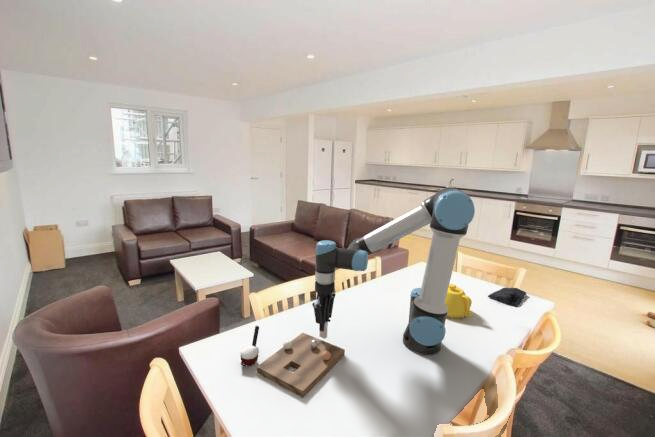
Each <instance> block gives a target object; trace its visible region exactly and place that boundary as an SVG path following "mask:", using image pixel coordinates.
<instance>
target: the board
mask: <svg viewBox="0 0 655 437" xmlns="http://www.w3.org/2000/svg"><path fill="white" fill-rule="evenodd" d="M312 340H316V341H317V342H318V347H317V348H316V349H312V348H311V347H310V342H311V341H312ZM290 341H291V343H292V346H291V348H290V349H285V348H284V346H282V348H280V349H279V350H277V351H276V352H275V353H273V354H271V355H270V356H269V357H268V358H266V359H265V360H264V361H262V362H261V363H259V364H258V365H257V366H256V374H257V375H259V376H261V377H263V378H265V379H267V380H268V381H271V382H272V383H274V384H276V385H278V386H280V387H282V388H284V389H286V391H289V392H291V393H293V394H294V395H296V396H298V397H300V398H302V399H304V398H305V397H306V396H307V395H308V393H310V391H312V389H314V387H315V386H316V385H317V384H318V383H319V382H320V381H322V379H324V377H326V375H327V374H328V373H329V372H330V371H331V370H332V369H333V368H334V367H335V366H336V365H337V364H338V363H339V362H340V361H341V360H342V359H343V357H344V356H345V353H346V352H345V350H346V349H345V348H342V347H339V346H337V345H334V344H332V343H330V342H327V341H324V340H323V339H319V338H317V337H315V336H312V335H310V334H307V333H305V332H301V333H300V334H299V335H297V336H296V337H295V338H293V339H292V340H290ZM324 351H329V352H330V354H331V357H330V359H329V360H324V359H323V358H322V353H323V352H324ZM291 368H292V369H294V370H295V371H291V370H290V369H291Z"/></svg>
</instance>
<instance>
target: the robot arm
mask: <svg viewBox="0 0 655 437" xmlns="http://www.w3.org/2000/svg"><path fill="white" fill-rule="evenodd" d="M475 210H476V209H475V204H474V202H473V200H472V198H471V196H469V195H468V194H467V193H466V192H464V191H462V190H461V189H459V188H456V187H445V188H442V189H441V190H438V191H437V192H435V193H434V194H433V195H431V196H429V197H428V198H426V199H424V200H423V201H421V203H420V205H419V206H417V207H415V208H413V209H411V210H410V211H408V212H406V213H405V214H402V215H400V216H399V217H397V218H395V219H393V220H391V221H389V222H388V223H387V222H386V223H385V224H384V225H382V226H380V227H378V228H376V229H374V230H372V231H370V232H369V233H367V234H365V235H364V236H362V237H359V238H356V239H354V240H352V241H351V242H350V243H349V245H348V247H347V248H342V247H337V244H336V242H335V241H332V240H330V239H329V240H320V241H318V242H317V243H316V245H315V275H314V276H315V278H314V280H315V281H314V291H315V292H316V293H317V294H316V301H315V302H312V304H311V306H312V307H313V312H314V319H315V324H318V325H319V338H322V339H327V338H328V323H330V322H331V318H332V316H333V315H332V314H333V308H334V303H335V297H336V293H335V292H334V291H335V286H336V285H335V281H336V269H340V270H346V271H347V270H348V271H353V272H365V271H366V270H367V269H368V266H369V263H368V262H369V255H371V254H373V253H375V252H377V251H379V250H381V249H383V248H384V247H387V246H389V245H390V244H392V243H395V242H396V241H399V240H401V239H403V238H404V237H406V236H408V235H410V234H412V233H414V232H416V231H418V230H420V229H422V228H424V227H426V226H427V225H429V228H430V230H431V231H432V237H431V241H430V246H429V250H428V254H427V260H426V266H425V269H424V274H423V277H422V278H423V279H422V284H421V287H415V288H413V289H412V290H411V291H410V295H409V296H410V300H409V301H410V303H409V312H408V314H409V315H408V323H407V326H406V328H405V330H404V332H403V334H402V342H403V345H404V346H405V348H407V349H409V350H410V351H412V352H414V353H416V354H417V353H418V354H421V355H435V354H437V353H439V352H440V351H441V350H442V344H443V342H442V341H443V340H444V339H445V336H446V332H447V331H446V327H445V325H446V321H447V318H448V317H447V312H448V307H447V306H446V304H445V300H446V296H447V292H448V287H449V284H451V283H450V282H451V278H452V274H453V271H454V270H453V269H454V265H455V262H456V256H457V253H458V249H459V244H460V240H461V239H462V238H463V237H464V236H466V235H467V232H468V228H469V225H470V224H471V223H472V221H473V220H474V217H475Z"/></svg>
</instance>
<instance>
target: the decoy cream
mask: <svg viewBox="0 0 655 437" xmlns="http://www.w3.org/2000/svg"><path fill="white" fill-rule="evenodd" d="M291 341H292V340H289V339H287V340H284V341H283V344H282V345H283V346H282V347H284V348H285V349H290V348H291V346H292V343H291Z"/></svg>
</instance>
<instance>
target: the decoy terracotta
mask: <svg viewBox="0 0 655 437" xmlns="http://www.w3.org/2000/svg"><path fill="white" fill-rule="evenodd" d="M330 357H331V354H330V352H329V351H324V352H323V353H322V358H323V359H324V360H329V359H330Z"/></svg>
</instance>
